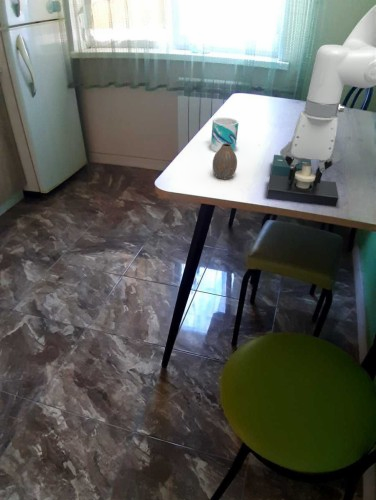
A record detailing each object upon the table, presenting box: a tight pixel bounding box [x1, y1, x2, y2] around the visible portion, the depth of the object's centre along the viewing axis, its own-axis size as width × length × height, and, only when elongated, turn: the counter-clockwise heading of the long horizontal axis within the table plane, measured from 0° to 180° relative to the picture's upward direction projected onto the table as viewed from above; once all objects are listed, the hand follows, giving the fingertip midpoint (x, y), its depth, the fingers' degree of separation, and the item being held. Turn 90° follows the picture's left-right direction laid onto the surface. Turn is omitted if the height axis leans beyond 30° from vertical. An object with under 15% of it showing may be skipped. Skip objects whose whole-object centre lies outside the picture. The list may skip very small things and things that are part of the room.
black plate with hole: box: [266, 174, 339, 207], centre depth 111 cm, size 18×10×2 cm, turn 79°
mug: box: [210, 116, 239, 153], centre depth 134 cm, size 8×12×8 cm
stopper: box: [294, 164, 316, 189], centre depth 108 cm, size 6×6×5 cm
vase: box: [212, 143, 238, 180], centre depth 115 cm, size 7×7×9 cm
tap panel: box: [270, 154, 313, 177], centre depth 121 cm, size 11×9×3 cm
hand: (303, 183), depth 109 cm, fingers closed on stopper, 5 cm apart
